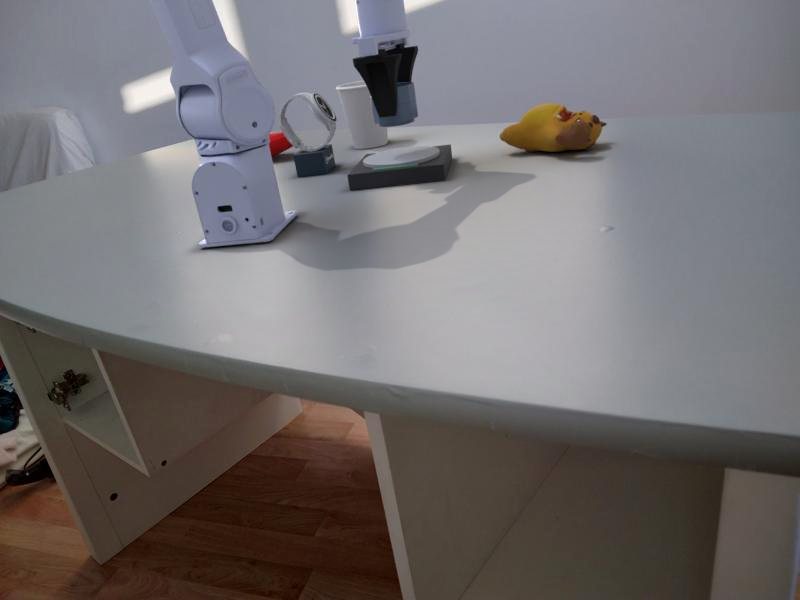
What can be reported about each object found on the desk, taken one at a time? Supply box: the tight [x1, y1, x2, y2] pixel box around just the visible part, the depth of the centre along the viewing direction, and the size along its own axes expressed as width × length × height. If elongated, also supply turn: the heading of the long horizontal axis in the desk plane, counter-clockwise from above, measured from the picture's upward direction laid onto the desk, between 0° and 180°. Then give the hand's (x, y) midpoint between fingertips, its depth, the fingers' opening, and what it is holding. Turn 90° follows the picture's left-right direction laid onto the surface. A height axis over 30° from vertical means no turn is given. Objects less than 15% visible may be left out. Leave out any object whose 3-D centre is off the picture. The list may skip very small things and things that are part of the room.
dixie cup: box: [335, 80, 389, 150], centre depth 106 cm, size 8×8×10 cm
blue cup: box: [370, 81, 419, 128], centre depth 81 cm, size 6×6×5 cm
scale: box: [346, 143, 453, 191], centre depth 84 cm, size 12×12×2 cm
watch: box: [278, 91, 338, 178], centre depth 92 cm, size 6×8×11 cm
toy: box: [499, 102, 608, 153], centre depth 83 cm, size 11×6×15 cm
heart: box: [269, 131, 294, 159], centre depth 109 cm, size 12×4×10 cm
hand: (394, 111), depth 81 cm, fingers closed on blue cup, 6 cm apart
